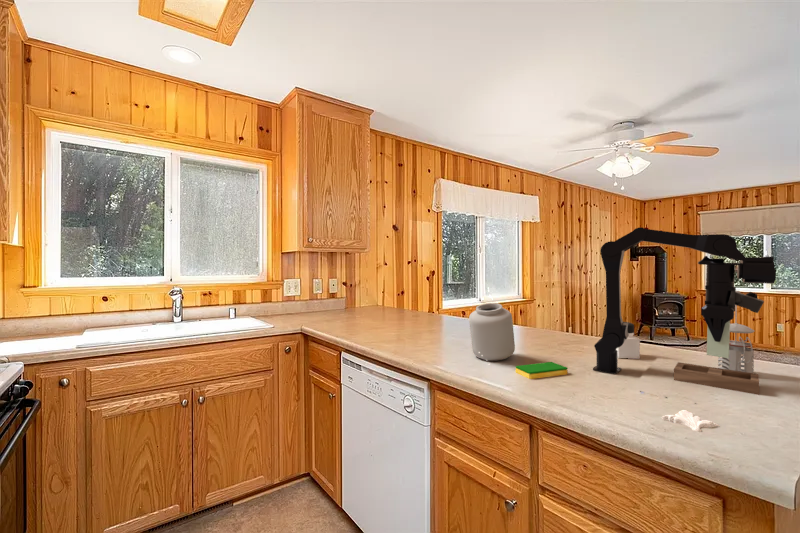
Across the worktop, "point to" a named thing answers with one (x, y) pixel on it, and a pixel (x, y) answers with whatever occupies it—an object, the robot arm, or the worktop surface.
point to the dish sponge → (541, 370)
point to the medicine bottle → (630, 345)
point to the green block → (719, 343)
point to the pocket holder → (717, 377)
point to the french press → (739, 350)
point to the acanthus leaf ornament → (689, 420)
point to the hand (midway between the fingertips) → (718, 340)
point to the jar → (492, 332)
